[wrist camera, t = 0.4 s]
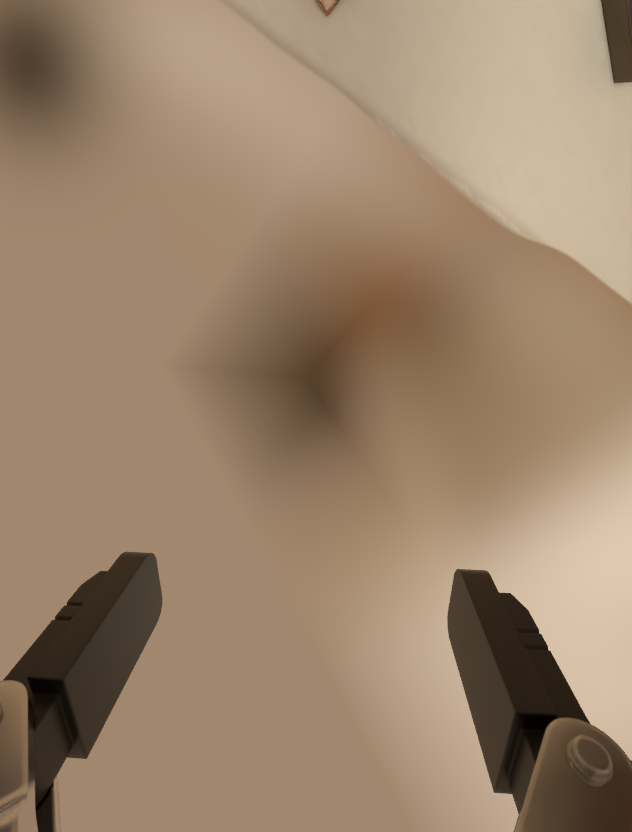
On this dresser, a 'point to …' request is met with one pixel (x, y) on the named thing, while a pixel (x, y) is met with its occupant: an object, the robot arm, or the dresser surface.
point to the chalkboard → (327, 5)
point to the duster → (619, 37)
